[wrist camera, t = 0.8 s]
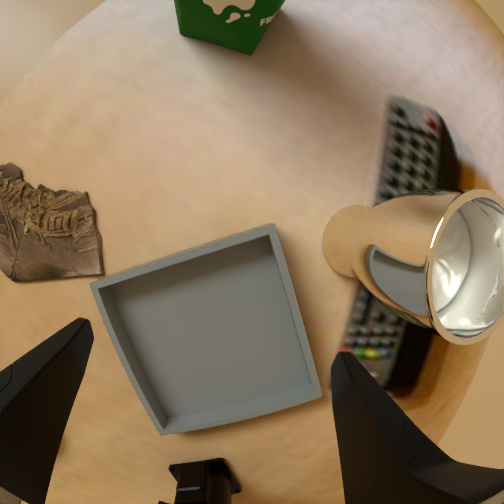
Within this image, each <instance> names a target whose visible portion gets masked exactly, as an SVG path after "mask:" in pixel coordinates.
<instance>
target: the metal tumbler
mask: <svg viewBox="0 0 504 504" xmlns="http://www.w3.org/2000/svg"><path fill="white" fill-rule="evenodd" d="M323 250H324V254H325V257H326V259H327V261H328V263H329V264H330V265H331V267H332V268H333V269H334V270H335V271H336V272H338V273H339V274H341V275H343V276H346V277H349V278H359V279H360V281H361V282H362V283H363V284H364V285H365V287H366V288H367V289H368V290H369V291H370V293H371V294H372V295H373V296H374V297H375V298H376V299H377V300H378V301H379V302H380V303H381V304H382V305H384V306H385V307H386V308H388V309H389V310H390V311H392V312H393V313H395V314H396V315H397V316H399V317H401V318H402V319H404V320H406V321H408V322H410V323H411V324H413V325H415V326H417V327H420V328H422V329H424V330H426V331H428V332H431V333H433V334H435V335H438V336H440V337H442V338H444V339H445V340H447V341H449V342H450V343H453V344H457V345H470V344H474V343H476V342H479V341H481V340H483V339H484V338H486V337H487V336H489V335H490V334H491V333H492V332H493V331H494V330H495V329H496V328H497V327H498V326H499V325H500V324H501V322H502V321H503V319H504V200H503V199H502V198H501V197H500V196H498V195H497V194H496V193H494V192H492V191H489V190H485V189H474V190H465V189H430V190H420V191H415V192H410V193H405V194H402V195H400V196H397V197H394V198H392V199H389V200H387V201H385V202H383V203H381V204H379V205H377V206H375V207H374V208H370V207H367V206H363V205H352V206H348V207H345V208H343V209H341V210H339V211H338V212H336V213H335V214H334V215H333V216H332V217H331V219H330V220H329V222H328V223H327V225H326V228H325V231H324V235H323Z"/></svg>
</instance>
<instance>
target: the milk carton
mask: <svg viewBox="0 0 504 504" xmlns="http://www.w3.org/2000/svg"><path fill="white" fill-rule="evenodd" d="M284 1H285V0H174V3H175V8H176V14H177V20H178V25H179V31H180V34H182V35H186V36H190V37H194V38H198V39H201V40H205V41H208V42H212V43H215V44H218V45H221V46H225V47H228V48H231V49H234V50H237V51H240V52H243V53H246V54H248V55H251V54H252V53H253V51H254V49H255V48H256V46H257V44H258V43H259V41H260V39H261V38H262V36H263V35H264V33H265V31H266V30H267V28H268V26H269V25H270V23H271V22H272V20H273V19H274V17H275V15H276V14H277V12H278V11H279V9H280V8H281V6H282V5H283V3H284Z"/></svg>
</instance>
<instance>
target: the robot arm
mask: <svg viewBox="0 0 504 504" xmlns="http://www.w3.org/2000/svg"><path fill="white" fill-rule="evenodd" d="M93 341H94V335H93V331H92V327H91V324H90V321H89V320H88V319H85V318H77V319H76V320H74V321H73V322H71V323H70V324H68V325H67V326H65V327H64V328H62V329H61V330H59V331H58V332H56V333H55V334H53V335H52V336H51V337H49V338H48V339H46V340H45V341H43V342H42V343H40V344H39V345H38V346H36V347H35V348H33V349H32V350H30V351H29V352H27V353H26V354H25V355H23V356H22V357H20V358H19V359H18V360H16V361H15V362H13V364H10V365H9V366H8V367H6V368H5V369H3V370H2V371H1V372H0V504H20V503H21V500H23V501H25V502H26V503H28V504H45V500H46V496H47V491H48V487H49V483H50V479H51V475H52V471H53V468H54V464H55V460H56V456H57V453H58V450H59V446H60V443H61V440H62V436H63V433H64V430H65V427H66V424H67V421H68V418H69V415H70V412H71V409H72V406H73V404H74V401H75V398H76V395H77V392H78V390H79V387H80V384H81V382H82V379H83V376H84V373H85V370H86V366H87V362H88V358H89V355H90V351H91V348H92V344H93ZM331 384H332V407H333V414H334V421H335V427H336V434H337V441H338V448H339V456H340V463H341V471H342V479H343V488H344V496H345V504H504V469H494V468H487V467H481V466H476V465H470V464H465V463H460V462H458V461H455V460H453V459H452V458H450V457H449V456H448V455H447V454H445V453H444V452H443V451H442V450H441V449H440V448H439V447H438V446H437V445H436V444H435V443H433V442H432V441H431V440H430V439H429V438H428V437H427V436H426V435H425V434H424V433H423V432H422V431H421V430H420V429H419V428H418V427H417V426H416V425H415V424H414V423H413V422H412V421H411V419H410V418H409V417H408V416H407V415H406V414H405V413H404V412H403V411H402V409H401V408H400V407H399V406H398V405H397V404H396V403H395V402H394V400H393V399H392V398H391V397H390V396H389V395H388V394H387V393H386V391H385V390H384V389H383V388H382V387H381V386H380V385H379V384H378V382H377V381H376V380H375V379H374V378H373V377H372V376H371V375H370V373H369V372H368V371H367V370H366V369H365V368H364V367H363V366H362V364H361V363H360V362H359V361H358V360H357V359H356V358H355V357H354V356H353V354H352V353H351V352H346V351H340V352H339V353H338V354H337V356H336V358H335V360H334V362H333V364H332V367H331ZM405 415H406V416H405ZM169 471H170V472H171V474H172V475H173V477H174V478H175V479H176V481H177V487H176V496H175V501H174V504H231V494H236V493H240V492H241V487H240V485H239V483H238V482H237V480H236V479H235V477H234V475H233V474H232V472H231V470H230V468H229V467H228V465H227V463H226V462H225V460H224V459H222V458H216V459H210V460H204V461H197V462H190V463H182V464H173V465H170V466H169ZM158 504H169V503H165V502H162V501H159V503H158Z"/></svg>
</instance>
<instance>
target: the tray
mask: <svg viewBox="0 0 504 504" xmlns="http://www.w3.org/2000/svg"><path fill="white" fill-rule="evenodd" d="M90 287H91V290H92V293H93V295H94V298H95V301H96V303H97V306H98V309H99V311H100V314H101V316H102V319H103V321H104V324H105V326H106V329H107V331H108V333H109V336H110V338H111V340H112V343H113V345H114V347H115V350H116V352H117V354H118V356H119V358H120V360H121V363H122V365H123V367H124V369H125V371H126V373H127V375H128V377H129V379H130V381H131V383H132V385H133V387H134V389H135V391H136V393H137V395H138V397H139V398H140V400H141V402H142V404H143V406H144V408H145V409H146V411H147V413H148V415H149V417H150V418H151V420H152V422H153V423H154V425H155V427H156V429H157V430H158V432H159V434H160V435H168V434H175V433H182V432H188V431H194V430H199V429H205V428H210V427H215V426H220V425H224V424H229V423H233V422H238V421H242V420H246V419H250V418H254V417H258V416H262V415H265V414H269V413H272V412H276V411H279V410H283V409H286V408H290V407H293V406H296V405H299V404H302V403H305V402H308V401H311V400H314V399H317V398H320V397H323V395H322V391H321V387H320V383H319V379H318V375H317V371H316V368H315V364H314V360H313V356H312V353H311V349H310V345H309V341H308V338H307V334H306V330H305V327H304V323H303V320H302V316H301V312H300V309H299V305H298V302H297V298H296V295H295V291H294V288H293V284H292V281H291V277H290V274H289V270H288V267H287V263H286V260H285V256H284V253H283V250H282V246H281V243H280V240H279V236H278V233H277V230H276V226H275V224H273V223H270V224H267V225H263V226H260V227H257V228H254V229H251V230H247V231H244V232H241V233H238V234H234V235H231V236H228V237H225V238H222V239H219V240H215V241H212V242H209V243H206V244H203V245H200V246H197V247H193V248H190V249H187V250H184V251H181V252H178V253H175V254H172V255H169V256H166V257H163V258H160V259H157V260H153V261H150V262H147V263H144V264H141V265H138V266H135V267H132V268H129V269H126V270H123V271H120V272H117V273H115V274H112V275H109V276H106V277H103V278H100V279H98V280H96V281H94V282H92V283H90Z"/></svg>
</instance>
